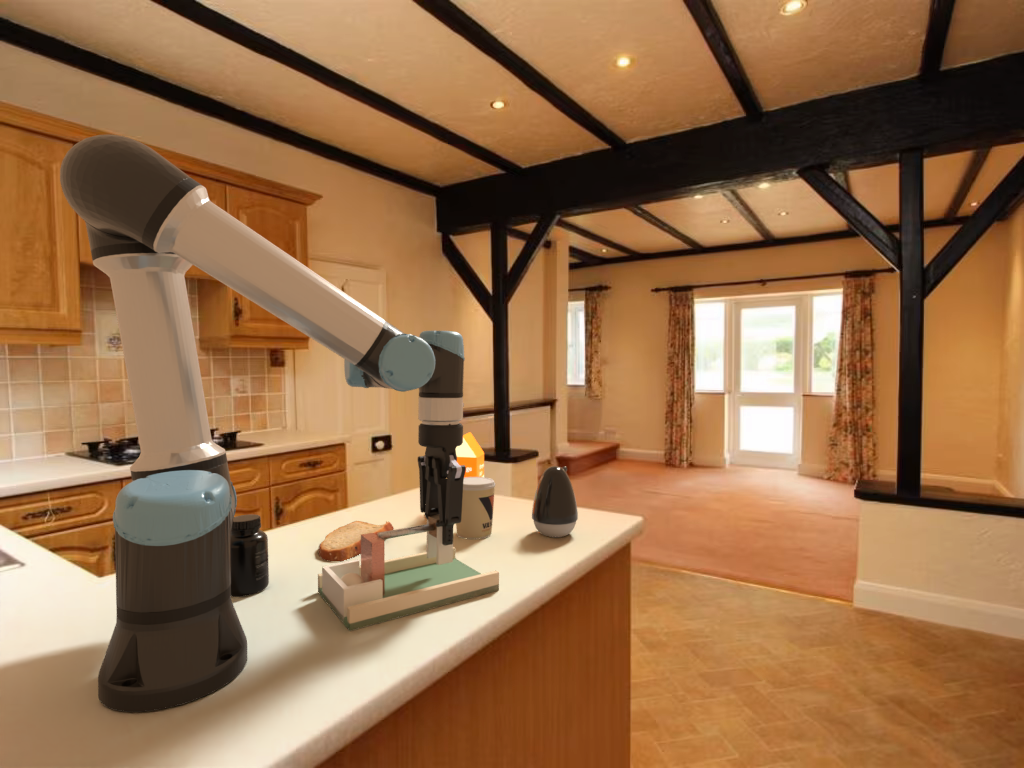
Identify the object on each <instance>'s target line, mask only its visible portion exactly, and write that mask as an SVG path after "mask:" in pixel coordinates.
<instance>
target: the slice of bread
mask: <svg viewBox="0 0 1024 768" xmlns="http://www.w3.org/2000/svg"><path fill="white" fill-rule="evenodd" d="M391 530H395V528H394V526H393V524H392V523H391V522H390V521H387V520H386V521H385V523H383V524H379V525H378V524H372V523H369V522H365V521H361V520H354V521H352V522H350V523H347V524H344V525H343V526H339V527H338V528H336V529H334V530H333V531H331V532H329V533H328V534H326V535H325V538H324V540H322V542H321V543H319V548H318V556H319V557H320V559H322V560H324V559H325V560H324V561H327V560H328V561H327V562H331V561H340V562H345V561H344V560H346V561H348V560H347V559H349V560H351V559H353V558H356V557H357V555H358V556H360V555H361V535H362V534H368V533H374V534H376V535H377V533H379V532H385V531H391ZM385 540H386V539H384V541H385ZM359 554H360V555H359ZM355 556H356V557H355ZM352 557H353V558H352ZM350 558H351V559H350Z"/></svg>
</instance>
